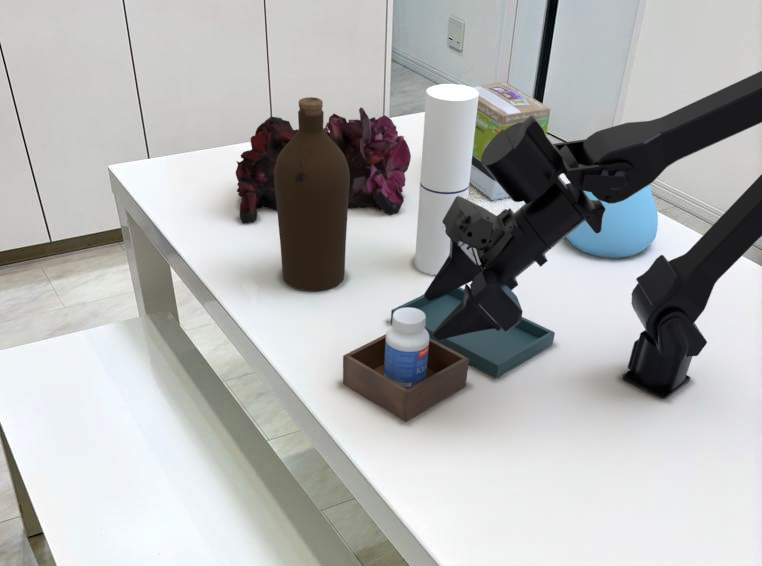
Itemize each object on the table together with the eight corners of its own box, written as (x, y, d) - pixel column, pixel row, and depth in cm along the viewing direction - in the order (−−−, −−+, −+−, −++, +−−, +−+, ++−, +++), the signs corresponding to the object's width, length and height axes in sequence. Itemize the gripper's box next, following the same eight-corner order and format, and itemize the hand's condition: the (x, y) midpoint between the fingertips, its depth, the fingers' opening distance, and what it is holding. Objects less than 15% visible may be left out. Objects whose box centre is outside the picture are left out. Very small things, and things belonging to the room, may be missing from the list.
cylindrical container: (407, 268, 134) (417, 95, 116) (426, 250, 138) (439, 80, 121) (449, 279, 131) (466, 104, 114) (467, 260, 136) (486, 89, 119)
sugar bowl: (543, 228, 145) (555, 157, 137) (619, 216, 149) (635, 146, 141) (590, 267, 135) (607, 194, 127) (671, 253, 139) (692, 181, 131)
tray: (552, 345, 118) (555, 332, 117) (496, 378, 112) (498, 365, 111) (447, 294, 128) (449, 281, 127) (390, 322, 122) (391, 309, 120)
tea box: (449, 171, 162) (457, 86, 152) (495, 163, 165) (506, 79, 155) (491, 202, 152) (502, 113, 142) (539, 193, 155) (553, 105, 145)
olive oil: (355, 290, 129) (359, 111, 111) (285, 297, 127) (278, 117, 109) (339, 257, 136) (340, 85, 118) (273, 264, 134) (264, 90, 116)
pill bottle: (422, 398, 108) (427, 329, 101) (379, 393, 109) (382, 324, 102) (428, 375, 112) (434, 307, 105) (387, 369, 113) (390, 301, 106)
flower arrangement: (246, 234, 141) (239, 138, 131) (223, 187, 155) (215, 97, 144) (424, 213, 148) (431, 121, 138) (387, 170, 162) (391, 83, 151)
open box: (465, 386, 111) (469, 358, 108) (405, 422, 105) (407, 393, 102) (402, 352, 116) (404, 324, 113) (342, 383, 111) (342, 355, 108)
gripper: (479, 145, 99) (379, 237, 106) (508, 213, 86) (392, 314, 93) (535, 212, 105) (437, 295, 112) (570, 286, 92) (457, 375, 99)
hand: (430, 316), depth 104 cm, fingers open, 9 cm apart
